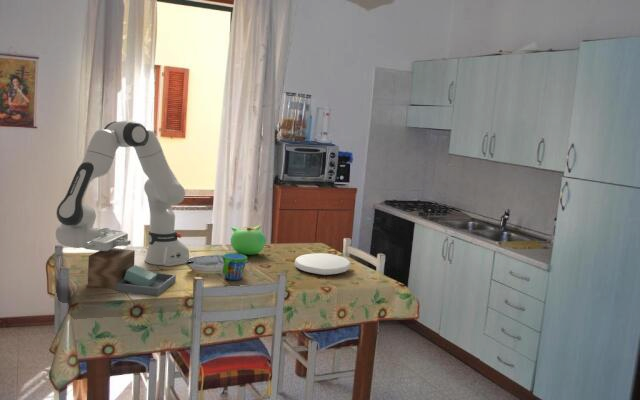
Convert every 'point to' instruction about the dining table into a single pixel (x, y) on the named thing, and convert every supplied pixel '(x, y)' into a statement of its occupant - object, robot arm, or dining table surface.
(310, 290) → the dining table surface
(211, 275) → the dining table surface
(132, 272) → the teal rectangular block
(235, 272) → the snack cup
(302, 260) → the plate
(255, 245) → the green eared pot
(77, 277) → the dining table surface
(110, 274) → the chevron patterned wooden cube
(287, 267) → the dining table surface
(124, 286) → the box
